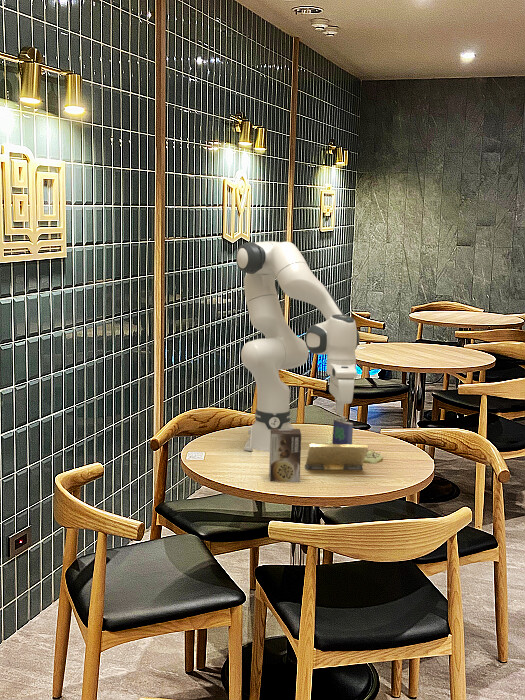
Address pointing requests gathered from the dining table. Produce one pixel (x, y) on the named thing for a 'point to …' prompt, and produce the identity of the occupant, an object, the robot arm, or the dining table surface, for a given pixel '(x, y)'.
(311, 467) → the hinge base
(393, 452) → the dining table surface
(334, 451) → the flap
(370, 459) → the decorated donut
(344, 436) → the flask
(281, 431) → the coffee box
